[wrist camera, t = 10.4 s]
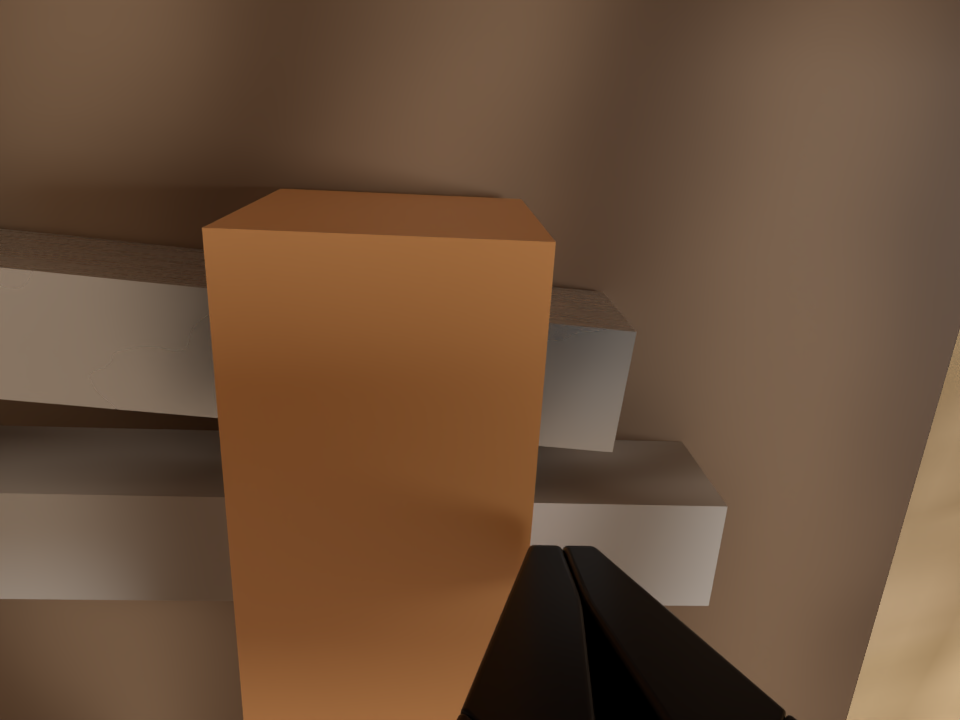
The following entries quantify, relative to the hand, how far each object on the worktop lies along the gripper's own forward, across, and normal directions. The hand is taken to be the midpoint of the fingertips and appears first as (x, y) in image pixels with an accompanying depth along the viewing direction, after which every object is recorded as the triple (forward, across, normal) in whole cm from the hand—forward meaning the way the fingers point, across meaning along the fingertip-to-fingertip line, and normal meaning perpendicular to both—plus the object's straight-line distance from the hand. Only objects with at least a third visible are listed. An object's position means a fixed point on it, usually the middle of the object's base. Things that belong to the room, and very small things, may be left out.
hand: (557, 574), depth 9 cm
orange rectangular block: (+4, +2, 0) cm, 5 cm away
